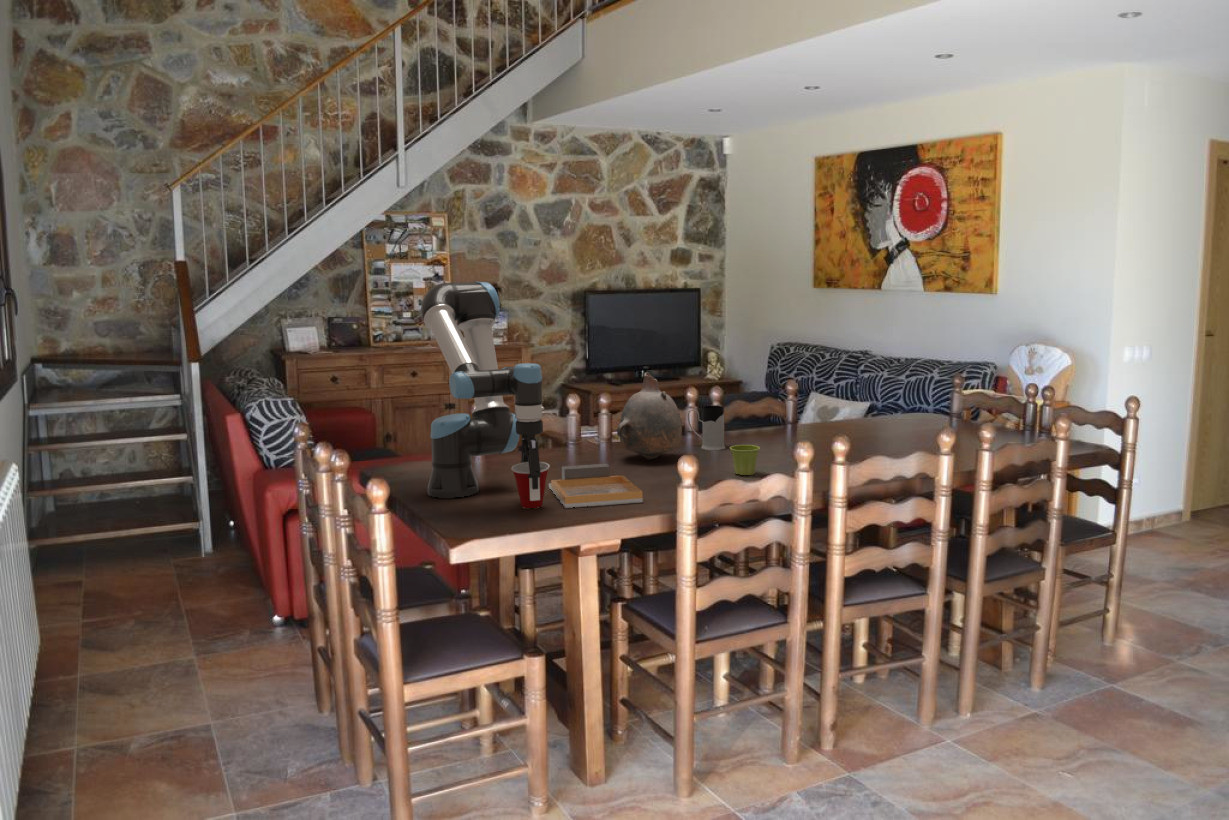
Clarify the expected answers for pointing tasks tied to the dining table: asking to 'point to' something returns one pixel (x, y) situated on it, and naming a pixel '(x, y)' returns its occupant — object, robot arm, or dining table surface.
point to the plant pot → (744, 458)
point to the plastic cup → (523, 485)
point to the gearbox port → (594, 487)
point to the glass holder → (711, 427)
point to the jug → (650, 421)
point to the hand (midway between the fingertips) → (531, 495)
